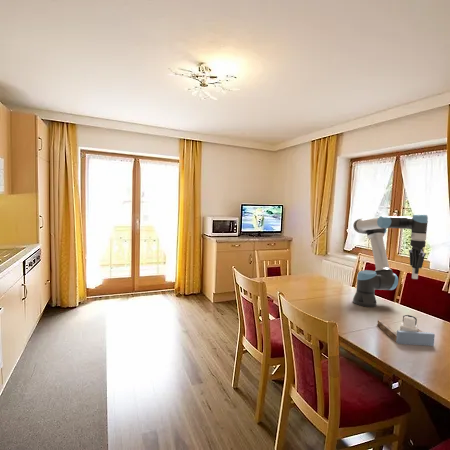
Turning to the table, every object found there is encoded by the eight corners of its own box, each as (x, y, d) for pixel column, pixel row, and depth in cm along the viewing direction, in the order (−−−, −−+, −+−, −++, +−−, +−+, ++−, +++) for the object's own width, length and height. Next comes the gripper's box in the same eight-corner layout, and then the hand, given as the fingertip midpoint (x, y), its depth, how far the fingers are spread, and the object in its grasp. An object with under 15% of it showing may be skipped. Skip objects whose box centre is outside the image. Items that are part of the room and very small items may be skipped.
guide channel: (377, 325, 165) (377, 320, 165) (407, 327, 164) (408, 322, 164) (396, 341, 145) (396, 336, 145) (430, 344, 144) (431, 338, 144)
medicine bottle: (400, 334, 154) (402, 312, 153) (416, 338, 150) (418, 316, 149) (399, 338, 148) (401, 316, 148) (415, 343, 144) (417, 320, 143)
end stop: (396, 341, 145) (397, 330, 144) (430, 344, 144) (432, 332, 143) (398, 343, 143) (399, 332, 142) (433, 345, 142) (434, 334, 141)
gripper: (405, 238, 176) (402, 275, 178) (418, 241, 163) (414, 281, 165) (417, 239, 176) (414, 276, 178) (431, 241, 163) (428, 281, 165)
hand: (414, 278), depth 171 cm, fingers closed
